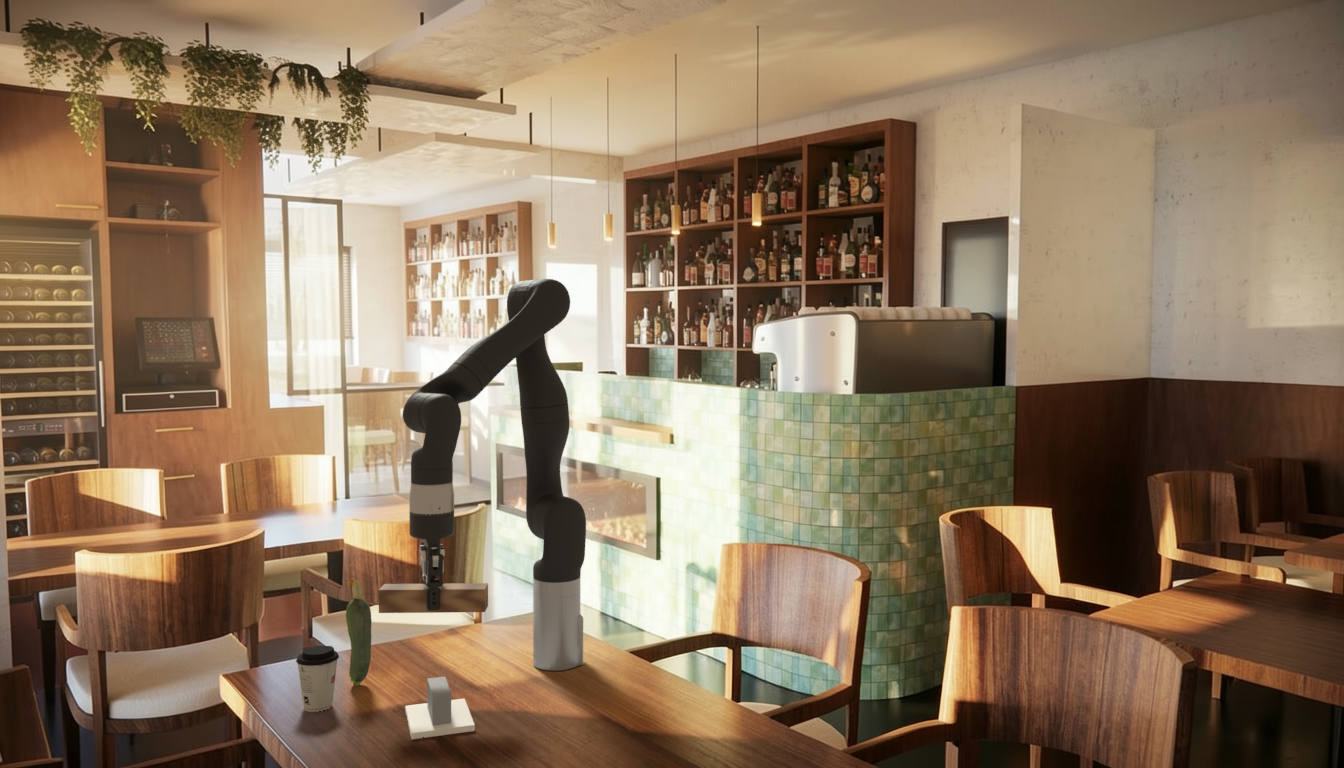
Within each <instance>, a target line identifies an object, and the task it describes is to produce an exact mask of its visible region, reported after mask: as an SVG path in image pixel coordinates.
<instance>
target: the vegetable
mask: <svg viewBox="0 0 1344 768" xmlns="http://www.w3.org/2000/svg"><path fill="white" fill-rule="evenodd" d="M351 585H352V587H351ZM347 587H348V588H350V587H351V591H352V593H351V594H352V596H351V597H352V598H353V599H351V600H350V601H349V602H348V604H347V606H346V610H345V619H346V621H345V622H346V627H347V633H348V637H349V641H350V659H349V661H350V662H349V670H348V671H349V673H348V674H349V677H350V682H352V685H355V686H359V685H360V684H362V683H363V681H364V680H365V679H366V678H367V676H368V674H369V669H370V663H371V659H372V657H371V655H372V611H371V607H370V603H368V601H367V600H366V599H364V595H365V594H364V591H363V589H362V588H361V585H360V583H359V581H358V580H356V579H355V578H349V580H348V581H347Z"/></svg>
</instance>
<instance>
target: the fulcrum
mask: <svg viewBox="0 0 1344 768" xmlns="http://www.w3.org/2000/svg"><path fill="white" fill-rule="evenodd" d="M426 680H427V681H426V683H427V684H426V686H427V689H426V692H427V695H426V696H427V697H426V699H427V700H426V701H427V702H426V703H425V702H424V703H417V704H410V705H409V704H408V705H405V707H404V708H405V710H404V711H405V717H406V716H407V717H406V722H407V721H408V722H407V725H408V726H407V727H408V732H409V735H410V738H411V740H418V739H425V738H432V737H439V736H447V735H455V734H462V733H470V732H475V730H476V729H475V728H476V727H475V722H474V719H473V717H472V714H471V711H470V709H469V707H468V704H467V701H466V699H465V697H463V698H457V699H452V692H451V689H450V686H449V683H448V681H447V677H446V676H438V677H429V678H427V679H426ZM423 737H424V738H423Z"/></svg>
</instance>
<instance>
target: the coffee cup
mask: <svg viewBox="0 0 1344 768" xmlns="http://www.w3.org/2000/svg"><path fill="white" fill-rule="evenodd" d="M339 658H340V655H339V653H338V652H337V650H335V648H334V647H333V646H332V645H315V646H310V647H307V648H305V649H303V650H302V653H300V654H299V655H297V658H296V660H295V662H296V663H297V668H298V676H299V681H300V682H299V684H300V689H301V695H302V704H303V710H304V711H305V712H308V713H320V712H319V711H321V712H324V711H323V710H325V711H327V710H326V709H328V710H329V708H330V707H331V706H332V707H333V704H334V703H333V702H334V701H333V700H334V694H335V693H334V692H335V683H336V677H337V676H336V675H337V666H338V659H339ZM332 707H331V708H332ZM331 708H330V709H331Z"/></svg>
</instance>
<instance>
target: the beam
mask: <svg viewBox="0 0 1344 768" xmlns="http://www.w3.org/2000/svg"><path fill="white" fill-rule="evenodd" d="M425 585H426V584H424V583H384V584H383V585H382V586H381V587H380V588H379V589H378V614H405V613H406V614H410V613H412V614H415V613H416V614H417V613H418V614H419V613H421V614H423V613H424V614H425V613H429V614H430V613H431V614H432V613H433V614H434V613H439V614H440V613H486V611H487V609H488V608H489V583H488V582H484V583H483V582H481V583H480V582H479V583H478V582H477V583H474V582H473V583H472V582H471V583H470V582H469V583H468V582H467V583H466V582H465V583H462V582H461V583H460V582H459V583H452V582H451V583H443V585H442V587H441V588H440V609H439V610H432V611H429V610H428V609H427V589H426V586H425Z"/></svg>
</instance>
